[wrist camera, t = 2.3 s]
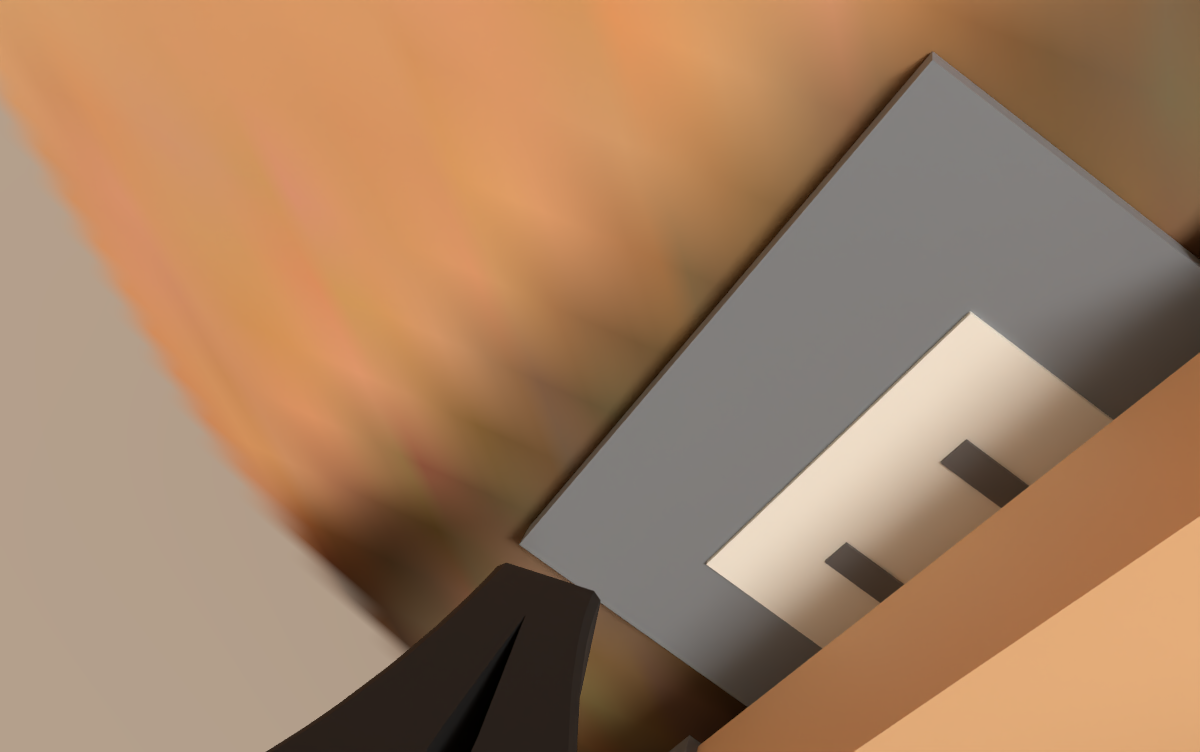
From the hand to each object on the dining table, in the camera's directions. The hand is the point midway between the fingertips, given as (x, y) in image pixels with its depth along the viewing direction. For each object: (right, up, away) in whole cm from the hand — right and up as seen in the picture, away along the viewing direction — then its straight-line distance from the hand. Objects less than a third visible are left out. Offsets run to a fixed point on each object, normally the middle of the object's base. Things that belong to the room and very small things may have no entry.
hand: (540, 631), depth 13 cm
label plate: (+10, -1, +5) cm, 11 cm away
